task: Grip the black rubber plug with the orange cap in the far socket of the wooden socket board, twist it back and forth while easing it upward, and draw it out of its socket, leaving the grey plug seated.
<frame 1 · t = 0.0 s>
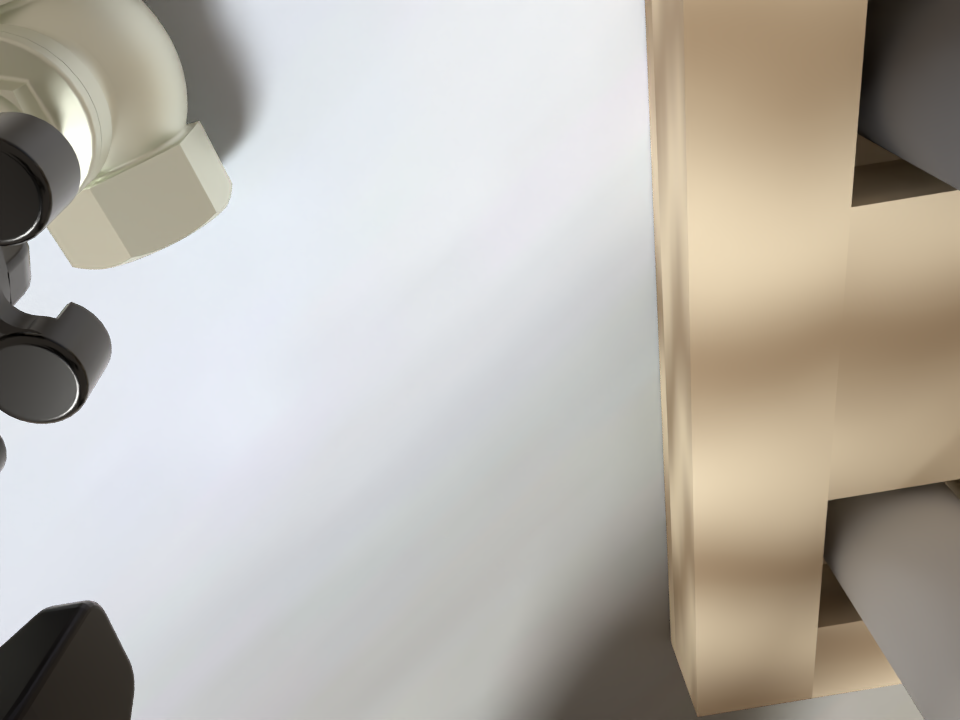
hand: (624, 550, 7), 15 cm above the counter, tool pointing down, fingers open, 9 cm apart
valve: (107, 62, 19), on the counter
grey plug: (927, 580, 23), point 4 cm above the counter, slide at 0.0 cm
wooden socket board: (876, 299, 23), on the counter
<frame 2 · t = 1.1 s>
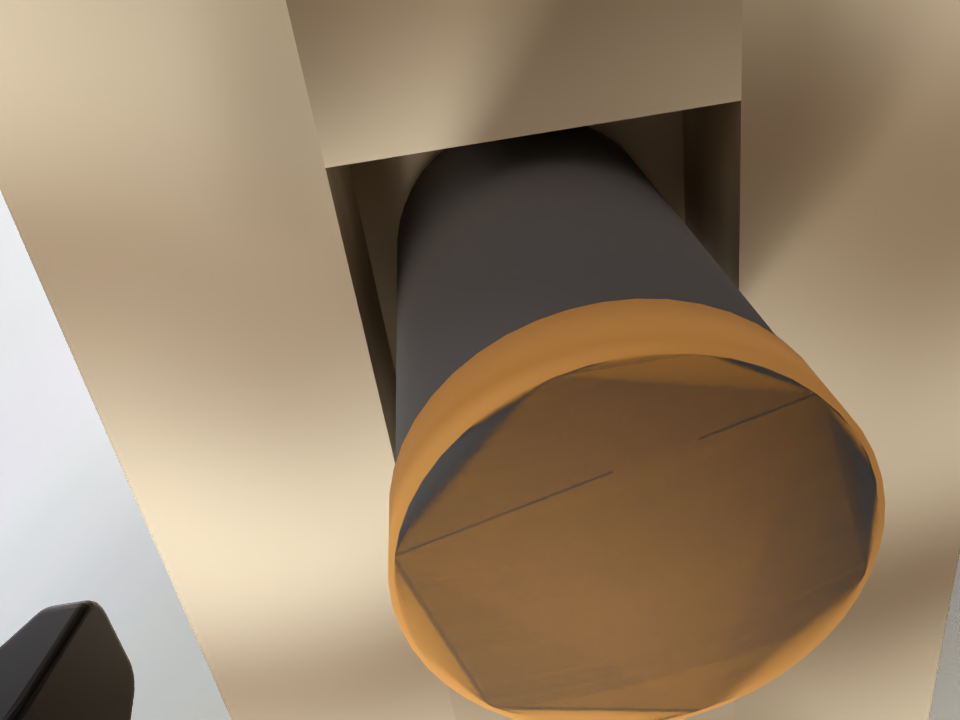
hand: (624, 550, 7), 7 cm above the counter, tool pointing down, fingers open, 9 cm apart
wooden socket board: (561, 542, 17), on the counter
capped plug: (567, 360, 10), point 4 cm above the counter, slide at 0.0 cm
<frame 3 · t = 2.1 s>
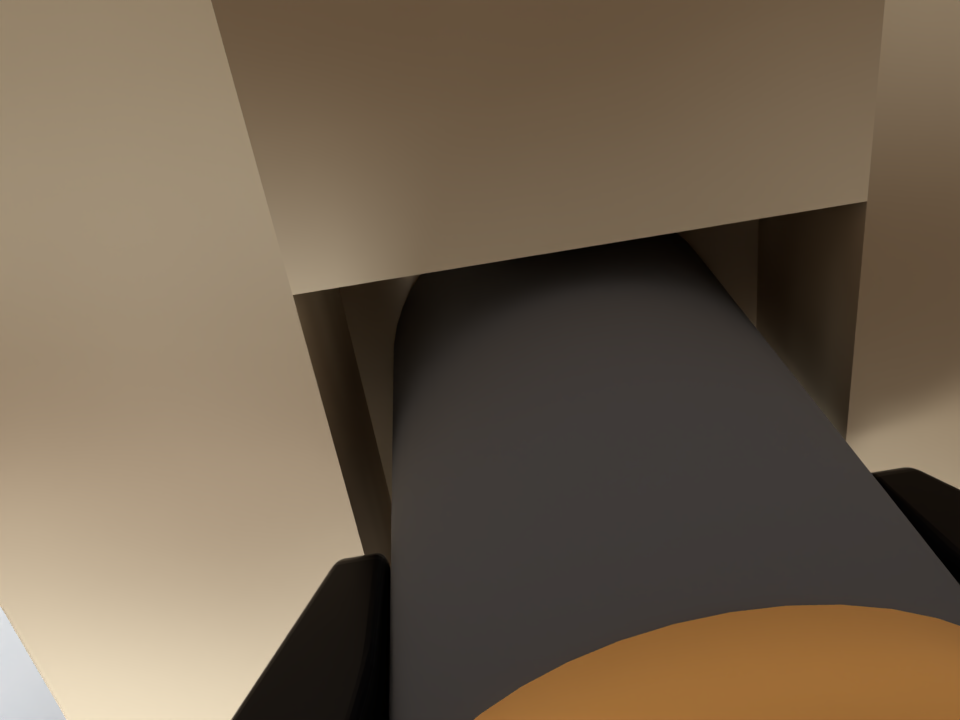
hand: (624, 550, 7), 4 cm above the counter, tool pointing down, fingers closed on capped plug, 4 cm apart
wooden socket board: (590, 679, 14), on the counter
capped plug: (625, 552, 7), point 4 cm above the counter, slide at 0.0 cm, touching gripper, wooden socket board
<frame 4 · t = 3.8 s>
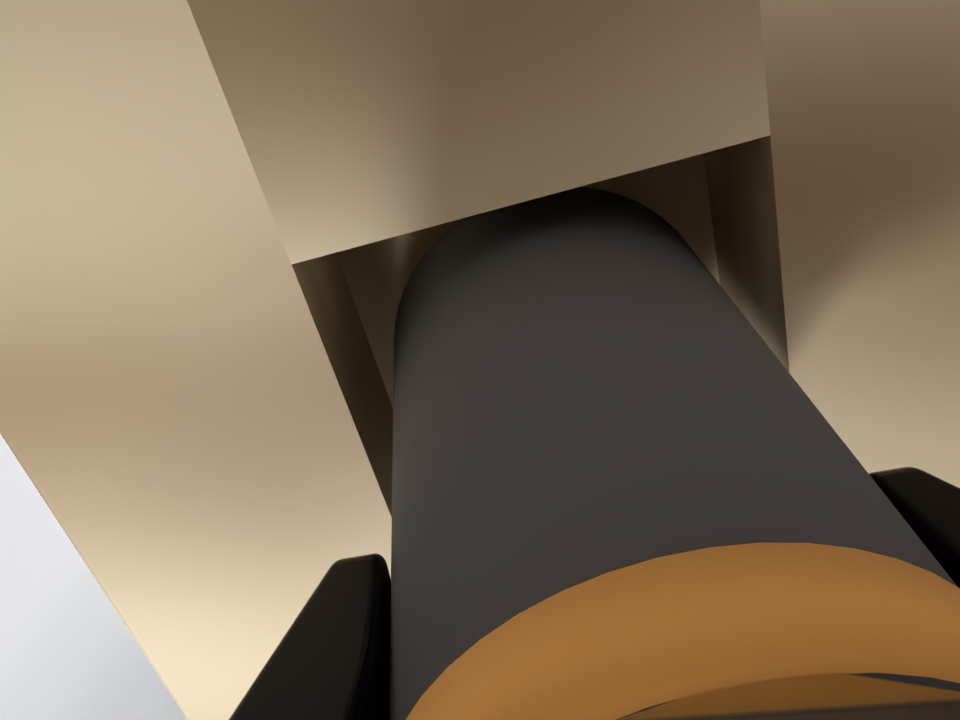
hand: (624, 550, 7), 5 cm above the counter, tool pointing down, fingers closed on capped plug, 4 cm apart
wooden socket board: (613, 607, 15), on the counter
capped plug: (613, 519, 8), point 5 cm above the counter, slide at 1.0 cm, touching gripper
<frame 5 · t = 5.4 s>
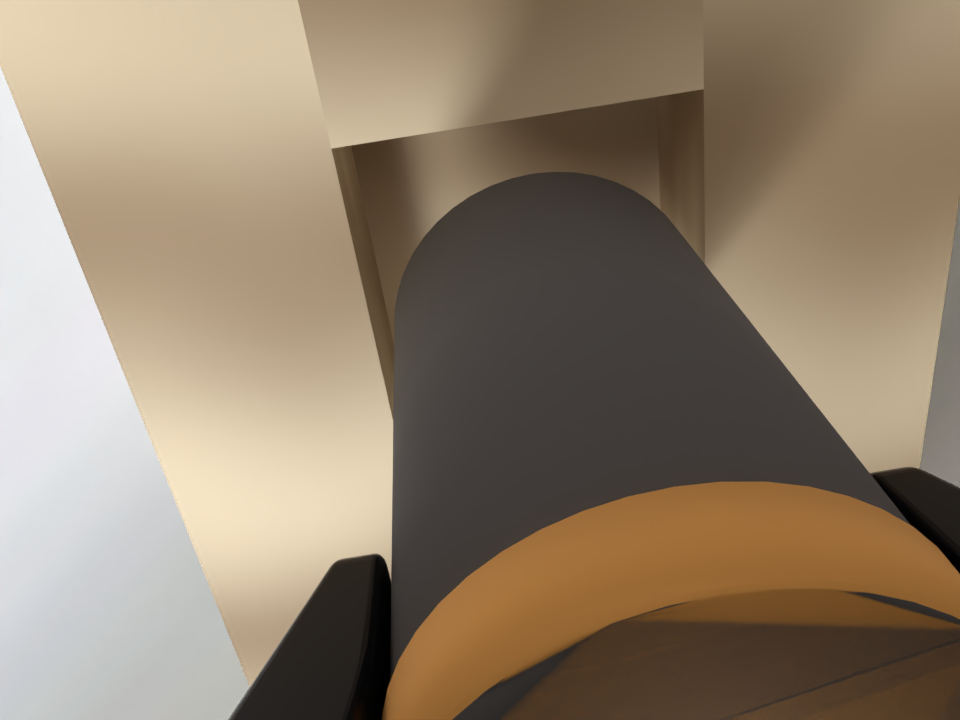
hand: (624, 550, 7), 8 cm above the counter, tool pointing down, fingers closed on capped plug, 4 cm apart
wooden socket board: (549, 508, 18), on the counter
capped plug: (602, 483, 8), point 7 cm above the counter, slide at 3.4 cm, touching gripper
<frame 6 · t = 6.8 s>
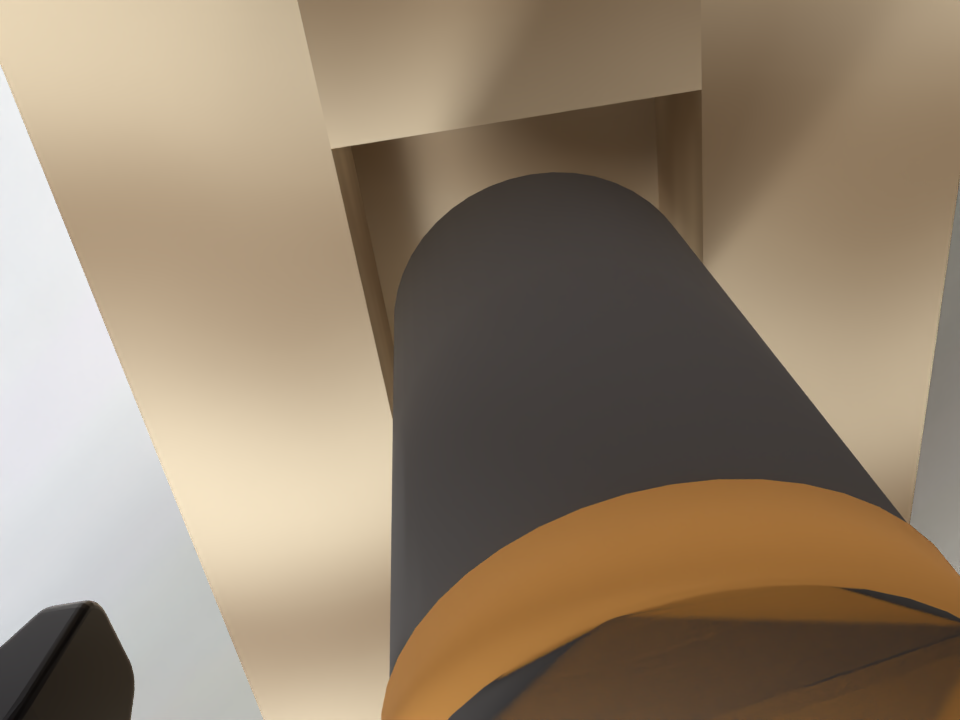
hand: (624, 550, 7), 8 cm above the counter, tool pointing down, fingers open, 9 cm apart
wooden socket board: (548, 507, 18), on the counter
capped plug: (600, 482, 8), point 8 cm above the counter, slide at 3.5 cm
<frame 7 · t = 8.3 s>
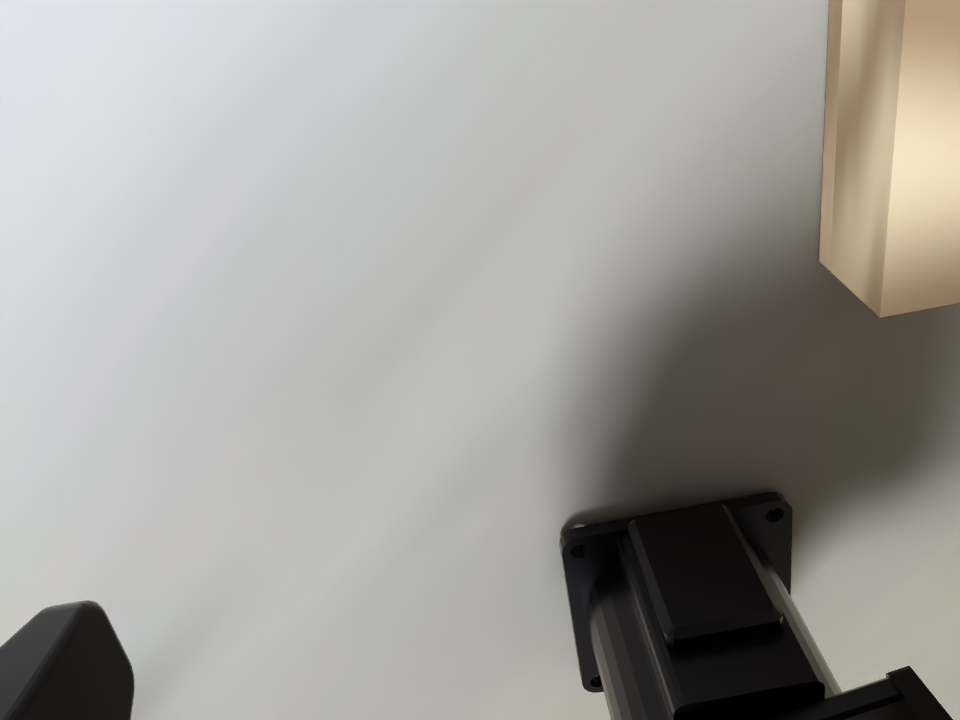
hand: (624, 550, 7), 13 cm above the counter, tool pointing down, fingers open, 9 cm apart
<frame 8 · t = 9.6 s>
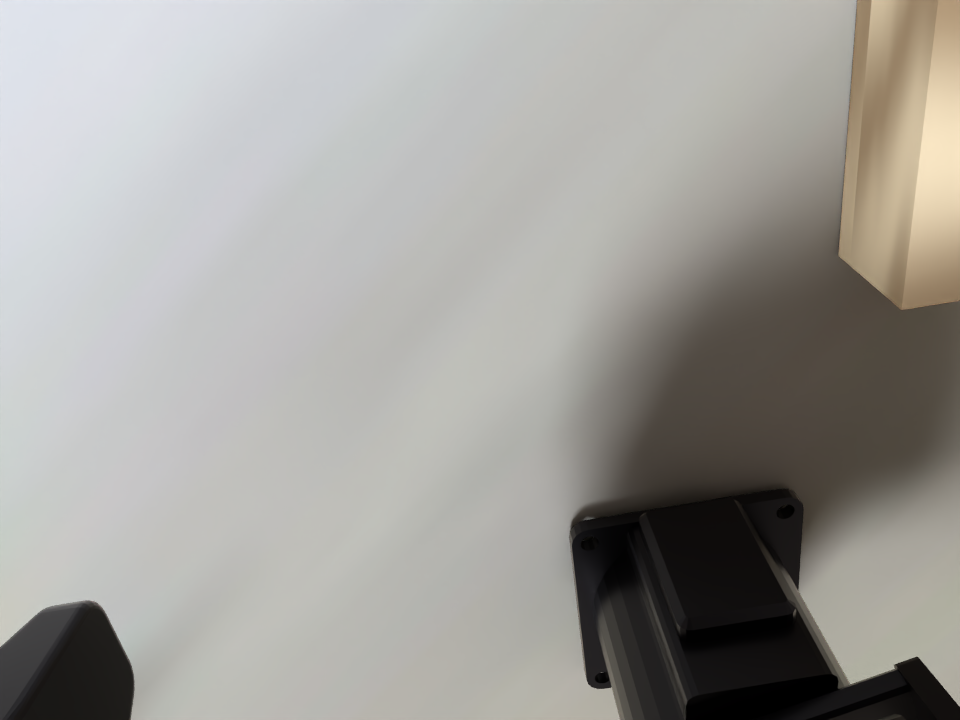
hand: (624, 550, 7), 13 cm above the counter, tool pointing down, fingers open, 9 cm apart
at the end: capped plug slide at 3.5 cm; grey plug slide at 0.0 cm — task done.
